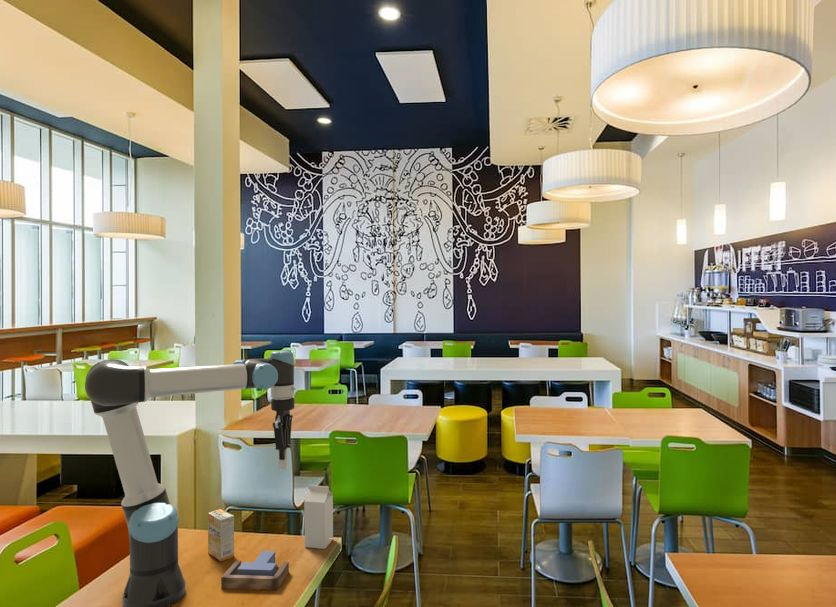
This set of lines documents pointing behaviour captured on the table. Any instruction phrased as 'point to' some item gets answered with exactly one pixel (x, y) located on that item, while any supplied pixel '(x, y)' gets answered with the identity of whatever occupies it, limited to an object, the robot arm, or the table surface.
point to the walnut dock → (253, 578)
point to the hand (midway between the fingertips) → (283, 468)
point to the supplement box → (221, 534)
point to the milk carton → (318, 517)
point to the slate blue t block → (260, 565)
